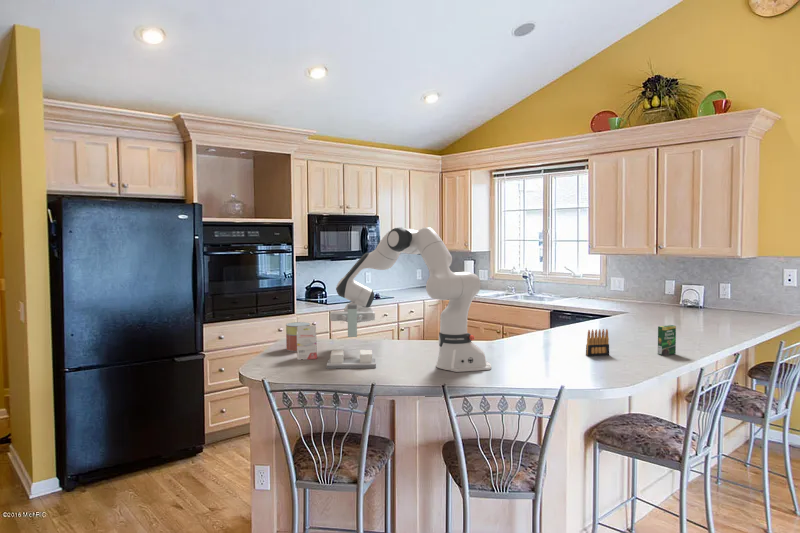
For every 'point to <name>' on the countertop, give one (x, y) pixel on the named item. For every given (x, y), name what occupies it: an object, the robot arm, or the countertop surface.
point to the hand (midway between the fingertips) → (352, 318)
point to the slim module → (352, 320)
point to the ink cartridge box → (306, 342)
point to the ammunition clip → (597, 343)
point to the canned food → (293, 335)
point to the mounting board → (351, 360)
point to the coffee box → (666, 340)
